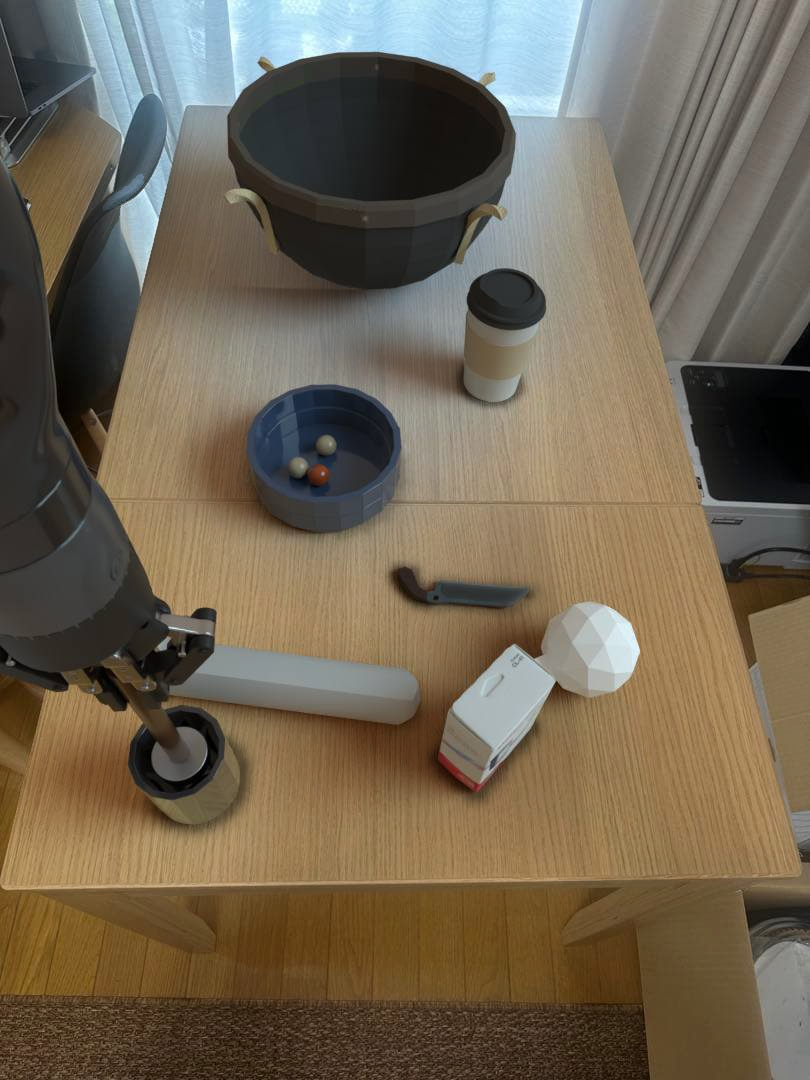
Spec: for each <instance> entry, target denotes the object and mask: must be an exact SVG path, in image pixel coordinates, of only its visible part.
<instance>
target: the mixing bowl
mask: <svg viewBox="0 0 810 1080" xmlns="http://www.w3.org/2000/svg"><path fill="white" fill-rule="evenodd" d="M323 435H330V436H332V437H333V438H334V439H335V441H336V444H337V448H336V450H335V452H334V453H333V454H332V455H329V456H323V455H321V454H320V453H319V452H318V451H317V449H316V441H317V439H318V438H319V437H321V436H323ZM402 446H403V445H402V437H401V428H400V427H399V425H398V422H397V421H396V418H395V417H394V415H393V413H392V412H391V411H390V410H389V409H388V408H387V407H386V406H385V405H383V403H382V402H381V401H380V400H378V399H377V398H376V397H374V396H372V395H370V394H367V393H366V392H364V391H362V390H360V389H357V388H354V387H349V386H345V385H339V384H334V383H333V384H331V383H330V384H328V383H327V384H325V383H324V384H309V385H306V386H301V387H297V388H293V389H290V390H287V391H285V392H284V393H282V394H280V395H279V396H276V397H274V398H273V399H271V400H270V401H269V402H268V403H267V404H265V405H264V406H263V407H262V409H260V410H259V411H258V413H256V415H255V416H254V418H253V419H252V422H251V424H250V426H249V428H248V430H247V432H246V446H245V447H246V448H245V453H246V457H247V463H248V467H249V471H250V477H251V482H252V485H253V488H254V491H255V493H256V496H257V498H258V501H259V502H260V503H261V504H262V506H264V507H265V508H266V510H267V511H268V512H269V513H270V514H271V515H272V516H273V517H275V518H277V519H278V520H280V521H282V522H284V523H286V524H288V525H289V526H292V527H294V528H298V529H302V530H306V531H311V532H319V533H321V532H340V531H344V530H347V529H350V528H355V527H357V526H360V525H363V524H365V523H366V522H368V521H369V520H371V519H373V518H374V517H375V516H377V515H379V514H380V513H382V511H383V510H384V509H385V508H386V506H387V505H388V504H389V503H390V501H391V500H392V499H393V498H394V496H395V494H396V491H397V487H398V484H399V481H400V475H401V474H400V473H401V463H402V449H403V447H402ZM294 457H301V458H303V459H305V460H306V461H307V463H308V466H309V470H310V468H311V467H312V466H314V465H323V466H325V467H326V468H327V469H328V471H329V480H328V482H327V483H326V484H324V485H322V486H315V485H313V484H312V483H311V482H310V481H309V479H308V473H307V474H306V475H305V476H304V477H302V478H294V477H292V476H291V475H290V474H289V473H288V470H287V465H288V462H289V461H290V460H291V459H292V458H294ZM309 470H308V472H309Z"/></svg>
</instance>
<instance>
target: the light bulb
mask: <svg viewBox="0 0 810 1080" xmlns="http://www.w3.org/2000/svg"><path fill="white" fill-rule="evenodd" d="M540 649H541V654H542V655H540V656H537V657H535V658H534V659H535V660H536V661H537V662H538V663H539V664H540V665H541V666H543V667H544V668H545V669H546V670H547V671H548V672H549V673H550V674H551V675H552V676H553V677H554V678H555V679H556V682H557V683H558V684H559V685H560V687H561V688H562V689H563V690H566V691H567V692H568V691H569V692H571V693H573V694H576V695H579V696H582V697H584V698H587V699H591V698H595V697H599V696H604V695H607V694H611V693H615V692H616V691H617V690H618V689H620V687H621V686H622V685H624V684H625V683H626V682H627V681H628V680H629V679H630V678H631V676H632V675H633V673H634V670H635V668H636V664H637V661H638V659H639V656H640V653H641V650H640V647H639V643H638V641H637V638H636V635H635V631H634V629H633V626H632V623H631V622H630V621H629V620H627V618H625V617H624V616H622V614H620V613H619V611H617V610H615V609H614V608H611V607H610V606H608V605H605V604H602V603H598V602H595V601H593V600H592V601H591V600H589V601H583V602H579V603H573V604H572V605H570V606H568V607H567V608H565V609H563V610H562V611H561V612H559V613H558V614H557V615H555V616H554V617H552V618H551V619H549V620H548V624H547V626H546V629H545V632H544V635H543V638H542V641H541V644H540Z"/></svg>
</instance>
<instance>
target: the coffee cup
mask: <svg viewBox="0 0 810 1080" xmlns="http://www.w3.org/2000/svg"><path fill="white" fill-rule="evenodd" d="M466 305H467V311H466V313H465V324H464V325H465V326H464V327H465V328H464V345H463V358H464V363H463V364H464V365H463V386H464V388H465V389H466V391H467V392H468V393H469V394H470V395H472V396H473V397H474V398H475V399H479V400H481V401H484V402H489V403H499V402H504V401H506V400H508V399H510V398H511V397H512V396H513V395H514V394H515V392H516V390H517V388H518V385H519V382H520V378H521V376H522V375H523V371H524V370H525V368H526V365H527V363H528V361H529V357H530V355H531V351H532V349H533V346H534V343H535V342H536V338H537V336H538V332H539V330H540V323H541V320H542V319H543V318H544V316H545V314H546V311H547V299H546V294H545V293H544V291H543V289H542V288H541V287H540V286H539V284H538V283H537V282H536V280H535V279H534V278H533V277H532V276H530V275H529V274H527V273H525V272H523V271H521V270H518V269H514V268H508V267H501V268H494V269H492V270H489V271H487V272H485V273H483V274H481V275H479V276H477V277H476V278H475V279H474V280H473V281H472V282H471V284H470V286H469V289H468V292H467V295H466Z"/></svg>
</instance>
